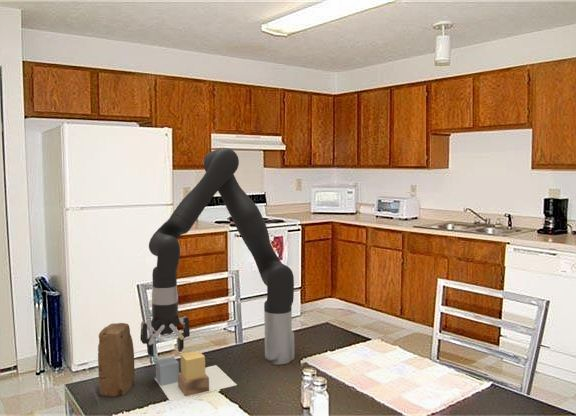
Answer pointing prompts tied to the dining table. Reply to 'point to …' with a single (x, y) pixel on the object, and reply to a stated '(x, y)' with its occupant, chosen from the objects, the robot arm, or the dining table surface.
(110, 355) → the block
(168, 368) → the brick blue
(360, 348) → the dining table surface
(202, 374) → the brick ochre
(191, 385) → the base block
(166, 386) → the board
